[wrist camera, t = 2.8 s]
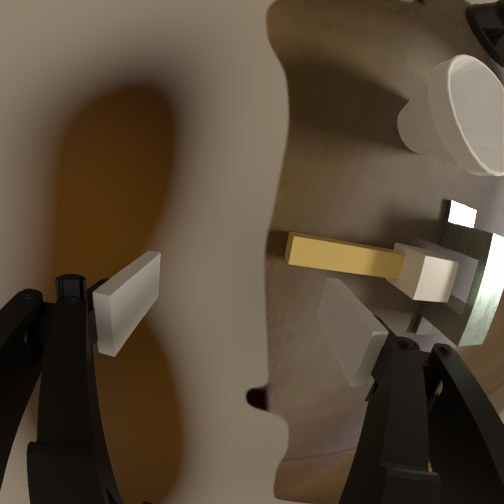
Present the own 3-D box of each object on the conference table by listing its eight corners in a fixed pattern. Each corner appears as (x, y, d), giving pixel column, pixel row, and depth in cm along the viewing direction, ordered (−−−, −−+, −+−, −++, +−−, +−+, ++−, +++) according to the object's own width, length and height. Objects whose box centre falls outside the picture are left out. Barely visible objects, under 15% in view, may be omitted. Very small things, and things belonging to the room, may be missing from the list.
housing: (447, 200, 30) (497, 207, 20) (472, 209, 30) (518, 219, 21) (412, 331, 35) (447, 366, 25) (438, 331, 35) (473, 362, 25)
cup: (460, 150, 28) (529, 147, 15) (410, 192, 30) (486, 201, 17) (418, 75, 26) (480, 44, 13) (360, 107, 27) (423, 70, 14)
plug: (290, 222, 31) (303, 232, 24) (428, 249, 32) (459, 262, 25) (283, 265, 32) (292, 286, 25) (418, 283, 33) (447, 302, 26)
